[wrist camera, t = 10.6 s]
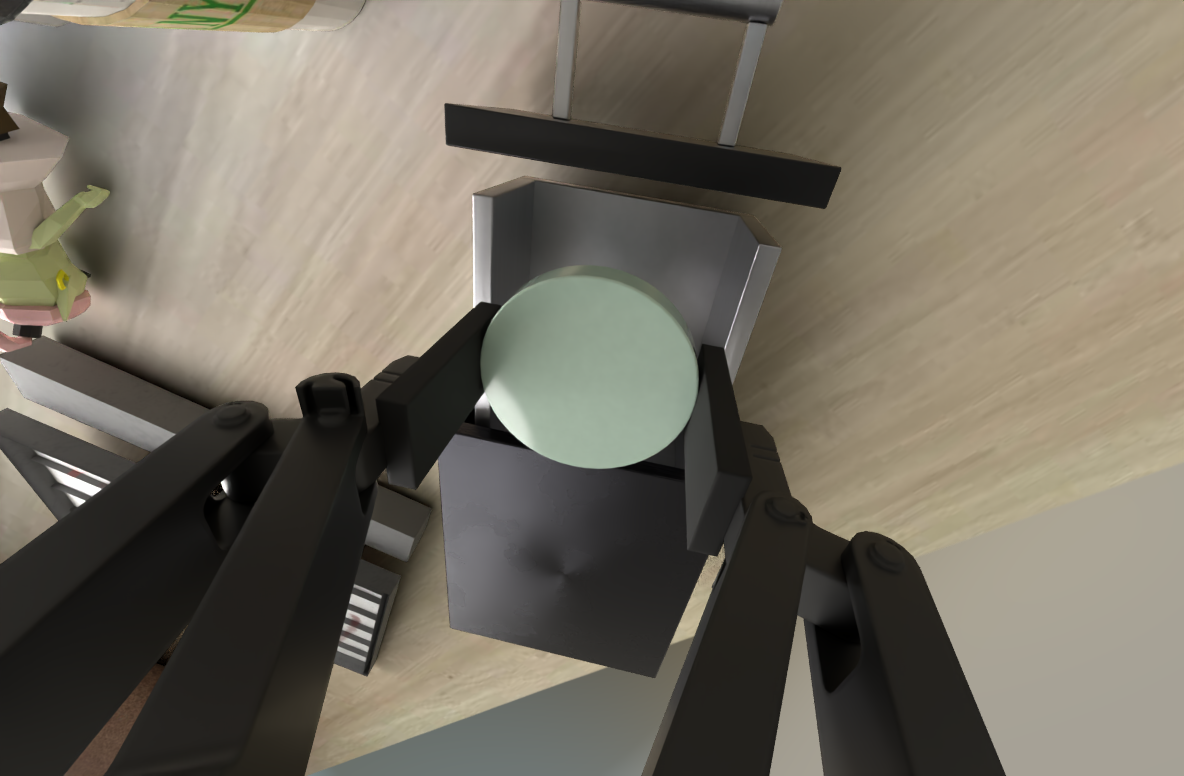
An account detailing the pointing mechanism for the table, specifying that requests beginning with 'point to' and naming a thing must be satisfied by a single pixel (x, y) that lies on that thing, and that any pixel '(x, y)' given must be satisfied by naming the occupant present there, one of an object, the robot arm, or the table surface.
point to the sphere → (115, 730)
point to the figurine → (35, 232)
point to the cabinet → (564, 551)
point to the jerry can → (41, 19)
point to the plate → (590, 367)
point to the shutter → (147, 421)
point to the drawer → (638, 199)
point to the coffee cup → (194, 13)
